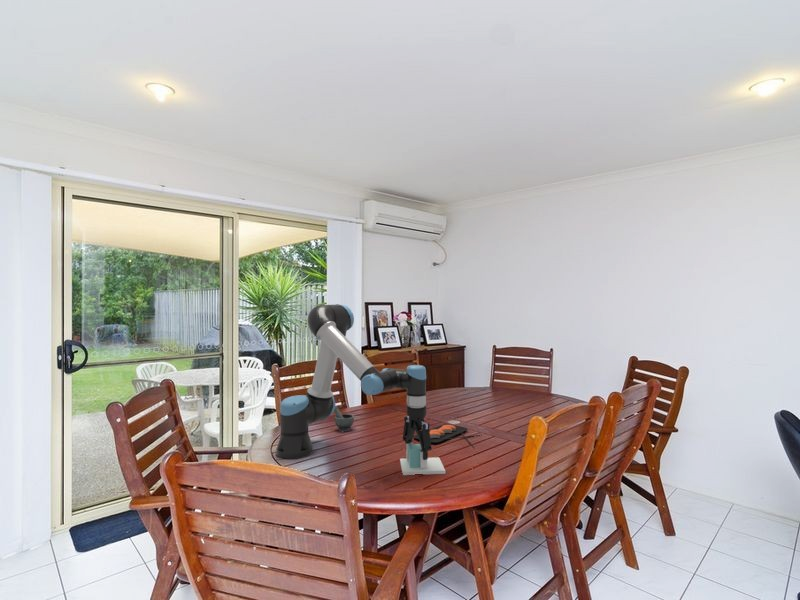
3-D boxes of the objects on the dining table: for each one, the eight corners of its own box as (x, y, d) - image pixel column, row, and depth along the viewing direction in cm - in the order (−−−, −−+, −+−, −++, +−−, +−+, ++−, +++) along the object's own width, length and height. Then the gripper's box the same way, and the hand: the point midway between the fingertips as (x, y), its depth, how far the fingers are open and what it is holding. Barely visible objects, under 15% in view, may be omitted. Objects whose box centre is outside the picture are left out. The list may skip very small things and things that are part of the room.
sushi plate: (445, 427, 230) (445, 419, 230) (498, 438, 211) (498, 430, 211) (410, 440, 208) (410, 432, 208) (465, 454, 189) (465, 445, 189)
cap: (410, 467, 170) (409, 449, 170) (408, 461, 176) (408, 444, 176) (425, 467, 170) (425, 448, 170) (423, 461, 176) (423, 443, 176)
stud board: (402, 475, 165) (402, 458, 165) (399, 461, 179) (399, 446, 179) (445, 473, 167) (445, 457, 167) (439, 460, 181) (439, 445, 181)
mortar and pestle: (356, 428, 227) (356, 404, 227) (350, 433, 218) (350, 408, 218) (335, 426, 229) (335, 403, 229) (329, 432, 220) (329, 407, 220)
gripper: (441, 410, 166) (441, 470, 166) (409, 399, 184) (409, 453, 184) (425, 412, 162) (425, 474, 162) (393, 401, 180) (393, 457, 180)
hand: (416, 463), depth 173 cm, fingers open, 9 cm apart
